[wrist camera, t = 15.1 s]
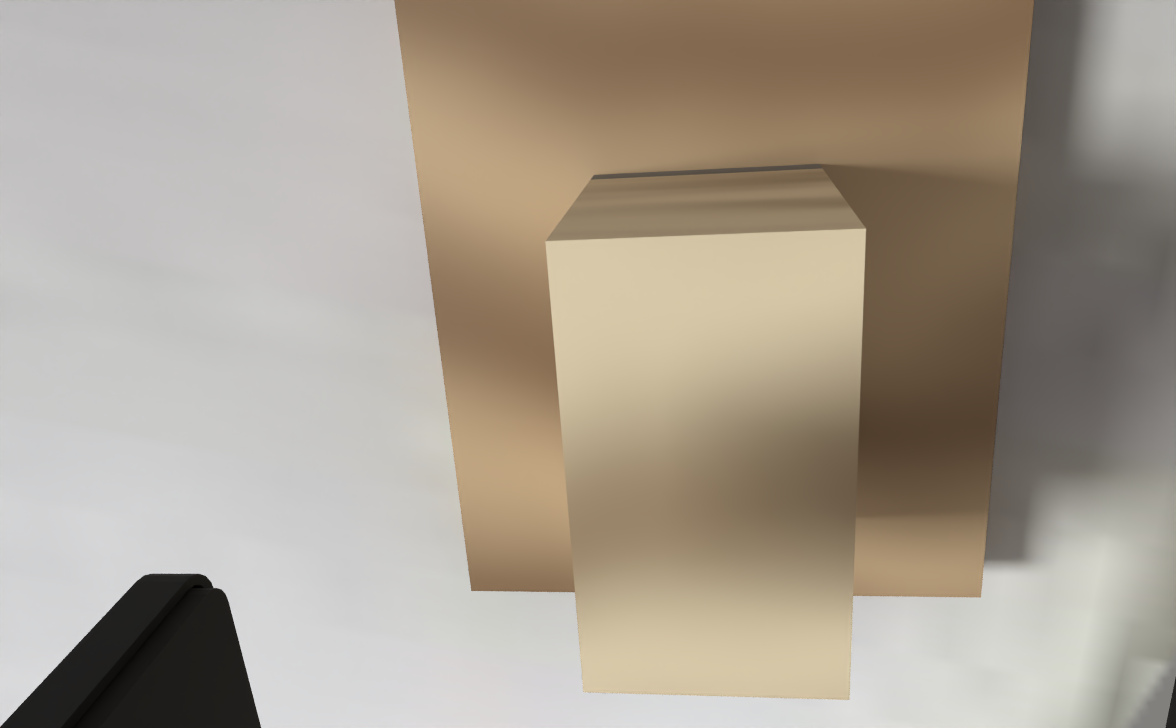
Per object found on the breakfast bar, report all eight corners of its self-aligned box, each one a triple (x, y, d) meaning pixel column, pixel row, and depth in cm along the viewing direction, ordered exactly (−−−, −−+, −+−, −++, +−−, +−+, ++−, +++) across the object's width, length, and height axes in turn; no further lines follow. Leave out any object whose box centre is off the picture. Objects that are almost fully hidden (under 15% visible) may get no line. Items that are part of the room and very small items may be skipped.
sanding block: (593, 174, 19) (545, 241, 13) (819, 163, 18) (866, 228, 13) (616, 519, 22) (583, 692, 16) (813, 519, 21) (848, 699, 16)
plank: (319, -795, 15) (280, -875, 14) (1087, -953, 14) (1129, -1062, 12) (485, 557, 24) (471, 590, 23) (964, 561, 23) (980, 597, 21)
